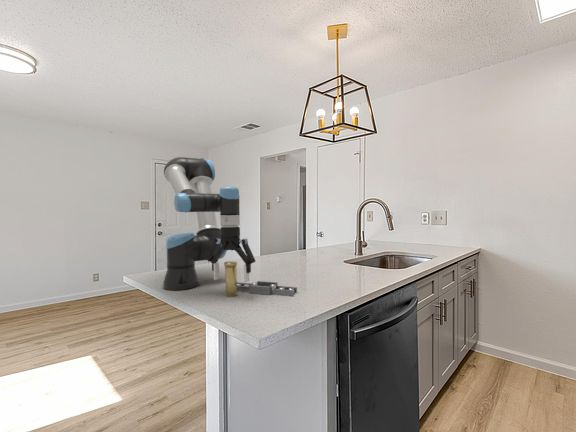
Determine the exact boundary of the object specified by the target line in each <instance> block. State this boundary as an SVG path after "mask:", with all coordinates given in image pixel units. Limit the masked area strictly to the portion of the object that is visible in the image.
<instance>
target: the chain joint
mask: <svg viewBox="0 0 576 432" xmlns="http://www.w3.org/2000/svg"><path fill="white" fill-rule="evenodd" d="M278 284H279V283H278V281H277V282H275V281H263V280H257V281H256V282H252V283H249V282H238V281H237V292H243V293H244V292H245V293H249V294H255V295H264V296H265V295H267V296H271V295H276V296H287V297H293V296H294V295H295V294H297V293H298V287H297V286H285V285H278Z"/></svg>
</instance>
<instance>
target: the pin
mask: <svg viewBox="0 0 576 432" xmlns="http://www.w3.org/2000/svg"><path fill="white" fill-rule="evenodd" d="M237 265H238V261H236V260H235V261H233V260H232V261H229V260H228V261H225V262H224V273H225V275H224V277H225V279H224V280H225V281H224V282H225V284H224V286H225V287H224V288H225V297H229V298H231V297H233V298H234V297H236V296H237V295H238V291H237V282H238V277H237V275H238V274H237V273H238V271H237Z"/></svg>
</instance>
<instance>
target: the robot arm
mask: <svg viewBox="0 0 576 432" xmlns="http://www.w3.org/2000/svg"><path fill="white" fill-rule="evenodd" d="M163 168H164V169H163V175H164V178H165V180H166V181H168V182H169V183H170V185H171V187H172V189H173V192H174V193H175V195H174V201H173V203H174V204H173V205H174V209H175V211H176V212H178V213H185V214H186V213H196V217H197V224H198V230H197V232H196V235H195V233H194V232H184V233H183V232H182V233H178V234H174V235H170V236H169V237H168V238H166V267H167V268H166V273H165V276H164V278H163V279H164V281H162V287H163V289H164V290H167V291H183V290H184V291H185V290H190V289H194V288H196V287H198V286H199V285H200V279H199V277H198V272H197V270H196V266H195V265H196V264H195V263H196V262H200V261H201V262H202V261H207V262H210V263H211V270H212V272H213V280H214V281H217V280H219V279H220V263H219V260H220V259H223V258H224V257H225V256H226V254H227V252H228V251H235V252H236V254H237V255H238V257H240V258H241V260H242V261H243V263H244V265H243V283H248V282H249V281H250V274H251V273H252V264H253V263H256V259H255V257H254V254H253V252H252V250H251V248H250V246H249V243H248V238H242V239H241V227H240V226H241V220H240V218H241V217H240V197H241V196H240V190H239V188H238V187H236V186H223V187H220V189H219V193H212V188H211V185H212V184H213V181H215V178H216V173H215V172H216V170H215V169H216V168H215V166H214V163H213V162H212V160H211V159H208V158H202V157H201V158H196V157H195V158H194V157H183V156H179V157H178V156H177V157H174V158H172V159H170V160H169V161H167V163H166V164H165V166H164V167H163ZM216 213H219V215H220V216H219V219H220V220H219V221H220V223H219V224H220V226H221V227H220V228H219V227H218V224H217V218H216Z"/></svg>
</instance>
